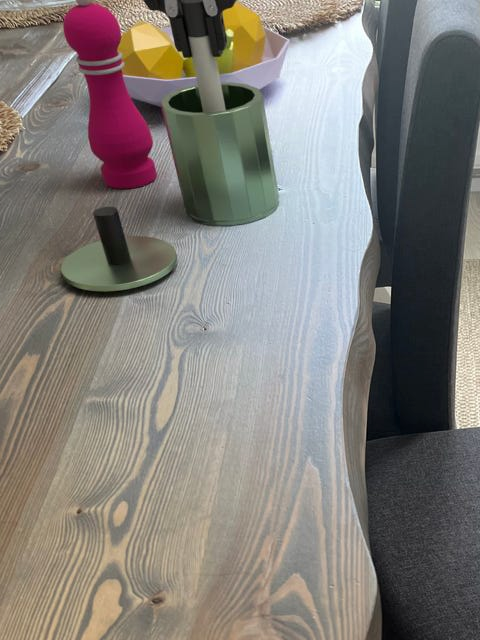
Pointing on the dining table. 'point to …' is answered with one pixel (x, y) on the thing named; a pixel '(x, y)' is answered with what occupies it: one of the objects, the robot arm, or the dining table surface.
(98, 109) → the pepper mill
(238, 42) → the fruit bowl
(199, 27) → the marker
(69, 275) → the canister lid
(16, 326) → the dining table surface
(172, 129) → the canister
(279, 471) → the dining table surface
